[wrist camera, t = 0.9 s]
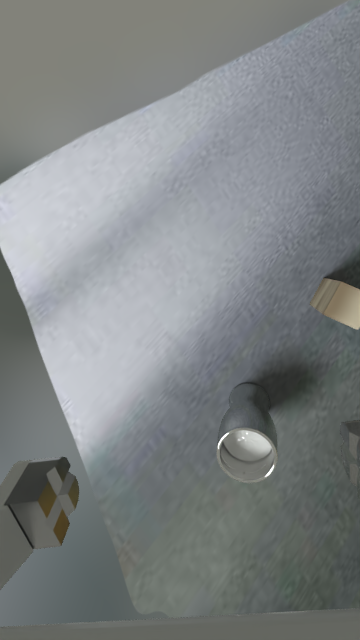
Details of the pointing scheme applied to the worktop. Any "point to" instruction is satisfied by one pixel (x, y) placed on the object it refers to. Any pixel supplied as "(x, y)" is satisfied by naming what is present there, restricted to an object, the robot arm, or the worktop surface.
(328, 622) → the robot arm
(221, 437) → the beer glass
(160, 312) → the worktop surface
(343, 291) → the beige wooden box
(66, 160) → the worktop surface
